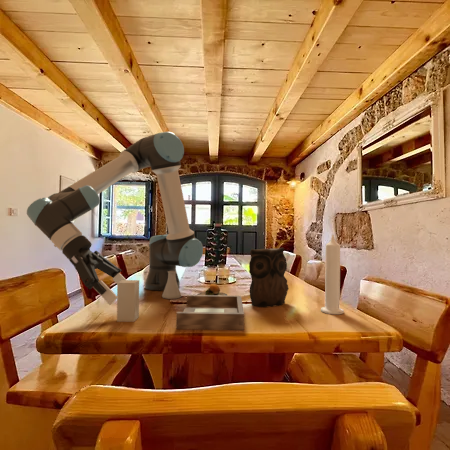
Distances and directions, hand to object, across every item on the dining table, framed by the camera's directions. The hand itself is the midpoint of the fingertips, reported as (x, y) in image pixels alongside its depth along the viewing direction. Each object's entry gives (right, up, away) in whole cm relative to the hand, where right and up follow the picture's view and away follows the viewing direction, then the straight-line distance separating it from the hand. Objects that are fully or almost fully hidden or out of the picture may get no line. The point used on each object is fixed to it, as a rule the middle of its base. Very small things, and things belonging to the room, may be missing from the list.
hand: (122, 295), depth 91 cm
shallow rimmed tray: (+26, -7, +3) cm, 27 cm away
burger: (+25, -8, +27) cm, 38 cm away
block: (+1, -7, +1) cm, 7 cm away
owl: (+45, -8, +22) cm, 50 cm away
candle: (+65, -8, +11) cm, 66 cm away
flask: (+9, -7, +29) cm, 32 cm away
